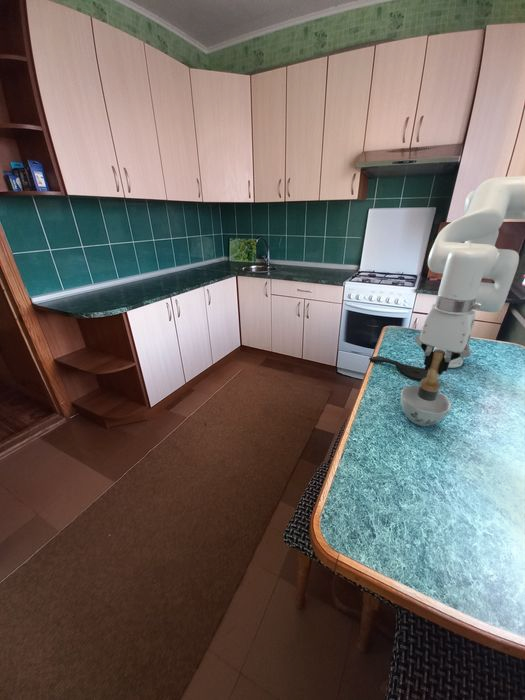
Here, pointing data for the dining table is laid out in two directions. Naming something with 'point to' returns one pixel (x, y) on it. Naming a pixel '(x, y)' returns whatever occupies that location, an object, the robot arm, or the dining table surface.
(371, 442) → the dining table surface
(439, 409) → the teacup
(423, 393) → the dish brush
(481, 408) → the dining table surface
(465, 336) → the robot arm
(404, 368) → the hairbrush
